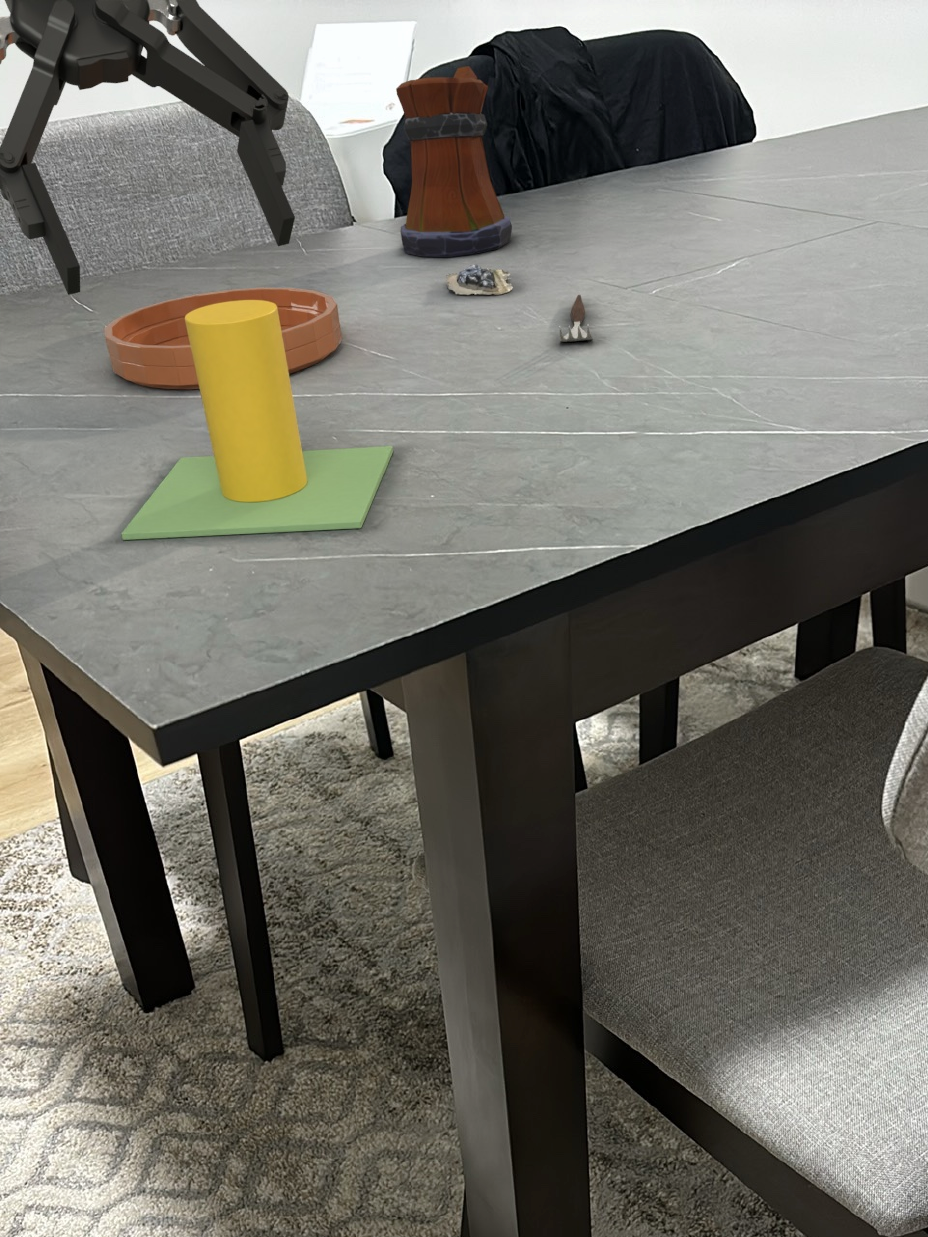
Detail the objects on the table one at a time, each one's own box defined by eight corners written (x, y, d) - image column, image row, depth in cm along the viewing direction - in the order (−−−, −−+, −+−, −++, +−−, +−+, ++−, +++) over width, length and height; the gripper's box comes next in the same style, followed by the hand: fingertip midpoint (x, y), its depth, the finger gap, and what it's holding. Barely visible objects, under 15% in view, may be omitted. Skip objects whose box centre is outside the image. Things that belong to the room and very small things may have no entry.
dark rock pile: (496, 272, 125) (494, 250, 124) (537, 287, 119) (536, 263, 118) (431, 286, 123) (428, 263, 121) (470, 301, 117) (468, 277, 116)
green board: (122, 540, 77) (120, 533, 77) (182, 463, 87) (180, 457, 87) (361, 528, 76) (360, 521, 76) (393, 451, 86) (392, 445, 86)
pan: (84, 398, 101) (72, 354, 99) (151, 335, 116) (142, 295, 114) (319, 384, 100) (312, 338, 98) (358, 321, 114) (352, 281, 112)
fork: (595, 300, 114) (594, 275, 112) (592, 352, 101) (591, 323, 100) (564, 302, 114) (563, 277, 113) (557, 354, 101) (556, 326, 100)
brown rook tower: (427, 224, 147) (410, 62, 137) (531, 218, 145) (520, 53, 135) (389, 261, 133) (367, 83, 123) (503, 255, 131) (489, 74, 121)
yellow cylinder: (212, 504, 80) (173, 325, 73) (233, 474, 84) (197, 302, 78) (298, 500, 79) (266, 319, 73) (314, 469, 83) (285, 296, 77)
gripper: (229, -48, 89) (357, 248, 89) (-159, 12, 80) (-17, 337, 81) (241, -147, 81) (380, 174, 82) (-183, -93, 73) (-28, 264, 74)
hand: (183, 256), depth 81 cm, fingers open, 13 cm apart
